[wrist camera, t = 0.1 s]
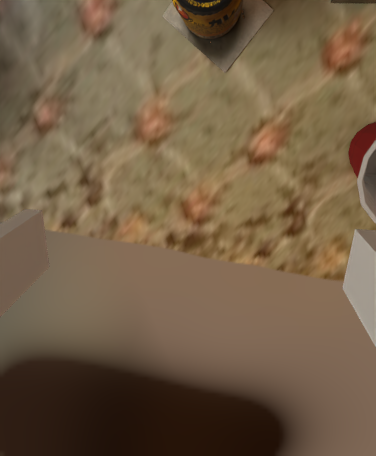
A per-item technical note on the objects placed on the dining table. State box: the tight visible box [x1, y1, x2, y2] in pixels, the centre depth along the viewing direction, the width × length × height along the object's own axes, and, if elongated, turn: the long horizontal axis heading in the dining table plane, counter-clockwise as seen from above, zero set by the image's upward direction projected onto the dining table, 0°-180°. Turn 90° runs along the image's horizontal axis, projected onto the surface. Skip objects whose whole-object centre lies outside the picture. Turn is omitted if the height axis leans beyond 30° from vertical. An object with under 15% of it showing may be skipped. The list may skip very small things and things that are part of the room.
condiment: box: [162, 0, 274, 72], centre depth 31 cm, size 7×8×12 cm
